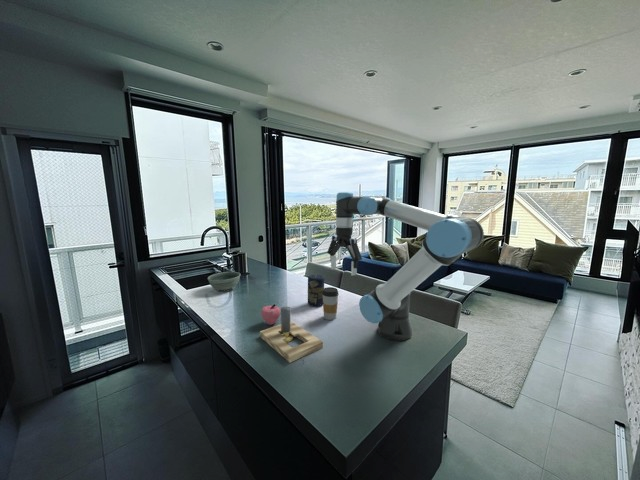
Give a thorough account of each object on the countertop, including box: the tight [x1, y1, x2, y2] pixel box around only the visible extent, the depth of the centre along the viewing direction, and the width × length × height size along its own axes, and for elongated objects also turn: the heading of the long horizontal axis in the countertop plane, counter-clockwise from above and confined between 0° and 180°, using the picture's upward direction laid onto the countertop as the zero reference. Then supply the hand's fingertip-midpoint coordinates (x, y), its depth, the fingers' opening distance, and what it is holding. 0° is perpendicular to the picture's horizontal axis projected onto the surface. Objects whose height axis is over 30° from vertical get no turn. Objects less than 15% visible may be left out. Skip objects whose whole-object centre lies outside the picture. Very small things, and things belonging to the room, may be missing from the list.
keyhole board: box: [259, 320, 324, 363], centre depth 111 cm, size 24×16×3 cm, turn 40°
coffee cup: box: [322, 286, 339, 321], centre depth 134 cm, size 8×8×15 cm
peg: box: [280, 306, 294, 343], centre depth 113 cm, size 6×6×14 cm
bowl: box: [207, 271, 241, 293], centre depth 175 cm, size 21×21×10 cm
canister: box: [307, 273, 325, 307], centre depth 151 cm, size 10×10×18 cm
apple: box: [260, 303, 281, 326], centre depth 127 cm, size 10×9×10 cm
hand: (343, 271), depth 123 cm, fingers open, 13 cm apart
